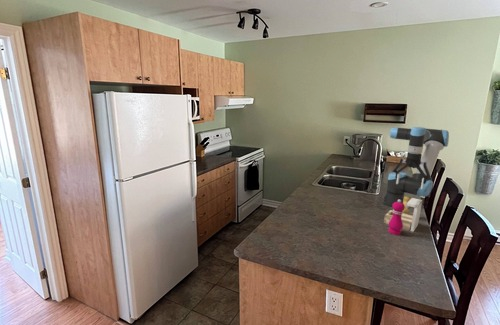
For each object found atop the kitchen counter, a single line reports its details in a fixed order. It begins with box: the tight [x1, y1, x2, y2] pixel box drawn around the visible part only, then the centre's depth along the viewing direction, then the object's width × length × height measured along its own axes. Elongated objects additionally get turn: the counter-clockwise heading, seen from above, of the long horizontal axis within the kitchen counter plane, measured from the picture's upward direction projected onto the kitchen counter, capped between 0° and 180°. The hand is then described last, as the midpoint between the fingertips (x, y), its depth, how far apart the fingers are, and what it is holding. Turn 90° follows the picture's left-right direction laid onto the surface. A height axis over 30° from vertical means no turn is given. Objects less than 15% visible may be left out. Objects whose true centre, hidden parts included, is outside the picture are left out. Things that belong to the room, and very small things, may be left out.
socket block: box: [383, 209, 413, 231], centre depth 164 cm, size 12×14×5 cm
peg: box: [403, 195, 412, 215], centre depth 172 cm, size 4×4×14 cm
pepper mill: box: [387, 199, 405, 236], centre depth 151 cm, size 7×7×20 cm
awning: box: [406, 197, 423, 233], centre depth 159 cm, size 12×6×16 cm, turn 137°
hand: (409, 186), depth 168 cm, fingers open, 13 cm apart
